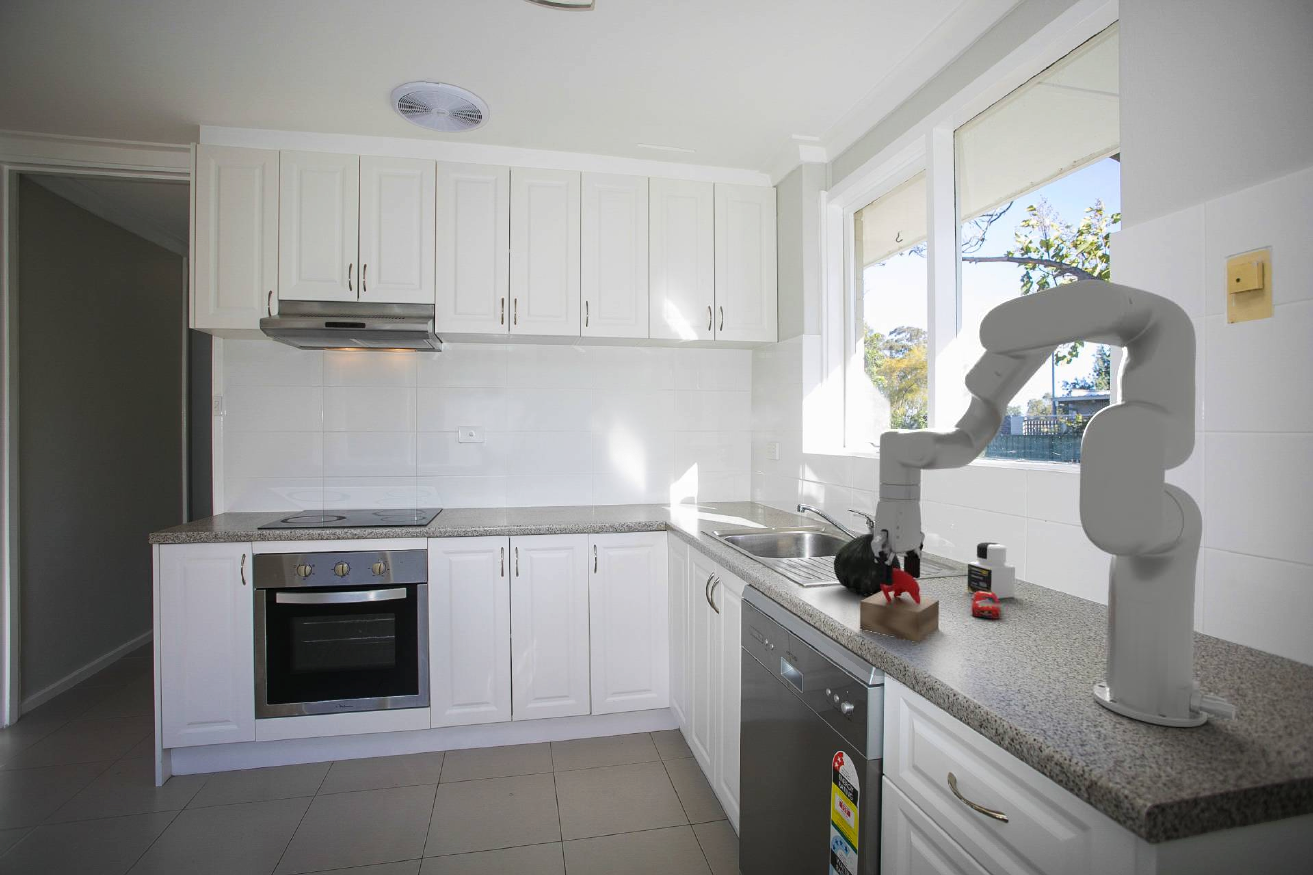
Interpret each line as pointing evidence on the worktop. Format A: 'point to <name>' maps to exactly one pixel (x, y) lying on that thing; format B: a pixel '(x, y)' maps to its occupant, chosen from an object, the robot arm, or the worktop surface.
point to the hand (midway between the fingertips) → (898, 580)
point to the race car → (985, 605)
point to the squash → (859, 565)
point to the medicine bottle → (991, 571)
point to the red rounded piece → (902, 586)
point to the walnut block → (899, 616)
